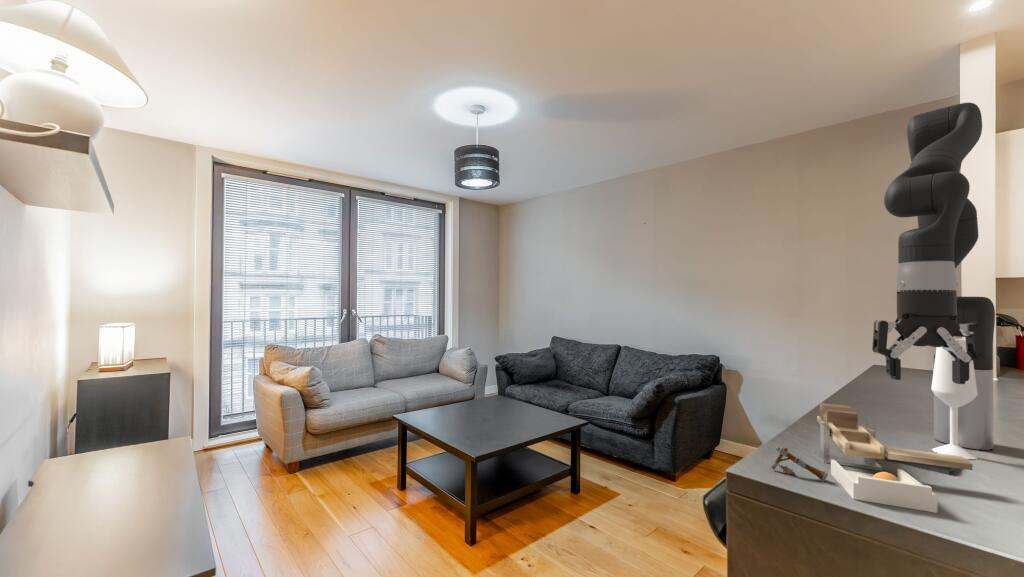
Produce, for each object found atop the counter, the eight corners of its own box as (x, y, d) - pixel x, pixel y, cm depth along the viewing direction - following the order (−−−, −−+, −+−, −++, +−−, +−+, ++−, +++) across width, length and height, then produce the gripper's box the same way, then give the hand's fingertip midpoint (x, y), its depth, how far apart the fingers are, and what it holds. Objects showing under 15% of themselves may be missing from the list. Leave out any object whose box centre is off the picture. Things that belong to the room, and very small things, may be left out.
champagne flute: (929, 445, 93) (929, 336, 94) (974, 453, 88) (973, 339, 89) (933, 453, 88) (933, 338, 88) (981, 462, 83) (980, 341, 84)
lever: (817, 420, 91) (817, 402, 91) (920, 431, 84) (921, 412, 84) (844, 454, 75) (845, 432, 75) (974, 471, 69) (975, 447, 69)
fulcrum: (814, 452, 86) (815, 420, 87) (869, 459, 83) (869, 426, 83) (823, 462, 81) (824, 427, 81) (882, 470, 77) (882, 434, 78)
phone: (859, 440, 93) (958, 462, 81) (859, 445, 93) (958, 467, 81) (849, 448, 88) (954, 472, 76) (849, 453, 88) (954, 478, 76)
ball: (868, 466, 68) (877, 476, 65) (896, 470, 67) (906, 480, 64) (867, 487, 68) (877, 498, 65) (895, 491, 67) (905, 502, 64)
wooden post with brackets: (766, 462, 78) (778, 442, 77) (814, 491, 74) (828, 470, 73) (765, 465, 76) (778, 445, 75) (815, 495, 72) (828, 473, 71)
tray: (830, 473, 76) (830, 453, 76) (901, 484, 72) (901, 463, 72) (853, 499, 66) (853, 476, 66) (937, 513, 62) (937, 488, 62)
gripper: (966, 289, 75) (967, 381, 74) (866, 288, 80) (866, 374, 80) (995, 288, 68) (996, 389, 67) (883, 287, 73) (884, 381, 73)
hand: (926, 381), depth 73 cm, fingers open, 8 cm apart
